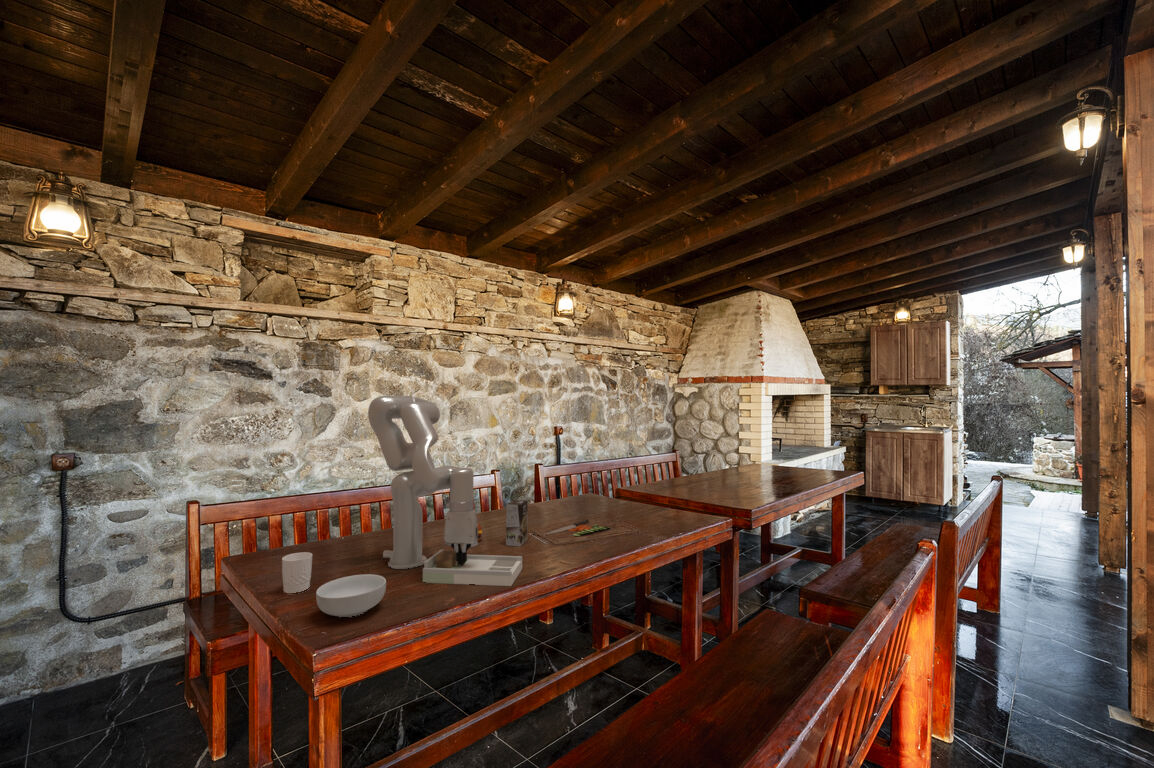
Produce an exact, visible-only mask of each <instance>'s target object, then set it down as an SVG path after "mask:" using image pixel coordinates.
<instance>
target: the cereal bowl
mask: <svg viewBox="0 0 1154 768" xmlns="http://www.w3.org/2000/svg"><path fill="white" fill-rule="evenodd" d="M386 589H387V580H386V578H385V577H384V576H382V575H378V574H371V573H369V574H368V573H367V574H355V575H354V574H353V575H349V576H343V577H341V578H337V579H334V580H331V581H328V582H326V583H323V584H322V585H321V586H319V587H318V588H317V589H316V593H315V597H316V598H315V599H316V605H317V607H318V608H319V610H320V611H321V612H323V613H325V614H327V615H329V616H335V617H337V616H338V617H337V618H341V617H349V618H353V617H352V616H355V617H358V616H361V615H363V614H365V613H366V612H368V610H370V609H372V608H374V607H375V606H376V605H378V604H379V603H380V602H381V601H382V599H383V598H384V596H385V593H386ZM364 612H365V613H364ZM360 614H361V615H360ZM357 615H358V616H357Z"/></svg>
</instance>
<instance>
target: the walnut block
mask: <svg viewBox="0 0 1154 768" xmlns="http://www.w3.org/2000/svg"><path fill="white" fill-rule="evenodd" d="M456 564H457V561H456V552H455V550H447V549H445V550H442V551H441V552H440V553H439V554H437V555H436V568H452V567H453V566H455V565H456Z"/></svg>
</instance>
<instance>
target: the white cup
mask: <svg viewBox="0 0 1154 768" xmlns="http://www.w3.org/2000/svg"><path fill="white" fill-rule="evenodd" d="M312 565H313V553H312V552H305V551H304V552H295V553H290V554H287V555H284V556H283V557H282V558H281V573H282V574H281V575H282V584H283V585H282V590H283V591H284V592H286V593H296V592H301V591H304V590H306V589H308V588H309V587H310V588H311V579H312V578H311V577H312V567H313V566H312ZM310 588H309V589H310ZM309 589H308V590H309ZM284 592H283V593H284Z"/></svg>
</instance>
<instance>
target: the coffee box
mask: <svg viewBox="0 0 1154 768" xmlns="http://www.w3.org/2000/svg"><path fill="white" fill-rule="evenodd" d="M528 502H529V501H528V500H526V499H525V500H523V499H518V500H515V499H513V500H512V501H510V502H508V503H506V505H505V507H506V508H505V546H509V547H510V546H512V547H522V545H524V544H525V543H526V542H527V541H528V535H529V532H528V530H529V529H528V528H529V527H528V520H529V519H528V517H529V516H528V509H529V508H528Z"/></svg>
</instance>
